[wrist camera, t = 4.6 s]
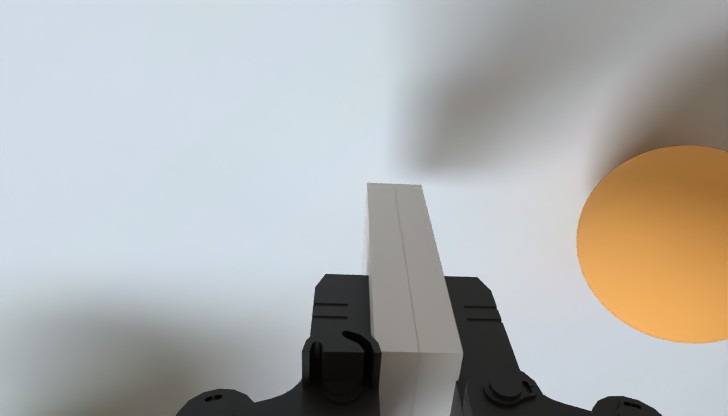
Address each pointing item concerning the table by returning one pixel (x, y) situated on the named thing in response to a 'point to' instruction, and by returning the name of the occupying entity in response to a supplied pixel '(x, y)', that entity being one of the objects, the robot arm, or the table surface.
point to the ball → (661, 243)
